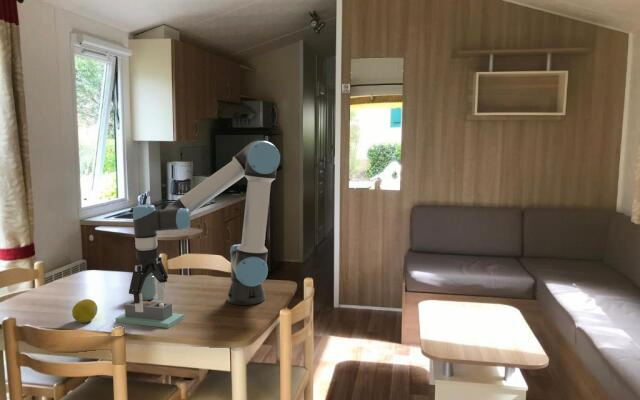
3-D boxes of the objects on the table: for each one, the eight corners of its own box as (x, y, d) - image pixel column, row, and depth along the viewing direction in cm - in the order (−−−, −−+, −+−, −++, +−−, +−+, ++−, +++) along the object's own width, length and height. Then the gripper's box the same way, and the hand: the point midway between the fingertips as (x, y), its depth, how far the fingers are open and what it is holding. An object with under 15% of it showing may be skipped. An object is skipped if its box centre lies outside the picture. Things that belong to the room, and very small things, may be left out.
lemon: (85, 327, 182) (83, 305, 181) (66, 325, 184) (64, 303, 183) (105, 317, 192) (104, 296, 191) (87, 315, 194) (86, 294, 193)
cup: (150, 302, 208) (149, 278, 207) (133, 301, 210) (131, 277, 209) (160, 296, 216) (159, 273, 215) (143, 295, 218) (142, 272, 216)
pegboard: (184, 318, 190) (183, 301, 189) (169, 328, 181) (168, 310, 180) (133, 312, 196) (132, 296, 196) (115, 322, 187) (114, 304, 186)
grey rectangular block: (172, 315, 189) (171, 302, 188) (163, 320, 184) (162, 306, 183) (134, 311, 193) (134, 298, 193) (125, 316, 188) (124, 303, 187)
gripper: (157, 240, 198) (161, 294, 201) (114, 255, 174) (119, 316, 177) (175, 241, 196) (178, 295, 199) (133, 256, 172) (138, 318, 175)
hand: (150, 305), depth 188 cm, fingers open, 13 cm apart
